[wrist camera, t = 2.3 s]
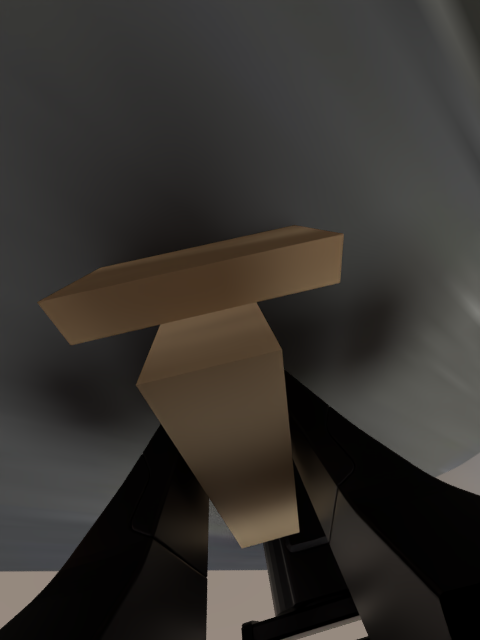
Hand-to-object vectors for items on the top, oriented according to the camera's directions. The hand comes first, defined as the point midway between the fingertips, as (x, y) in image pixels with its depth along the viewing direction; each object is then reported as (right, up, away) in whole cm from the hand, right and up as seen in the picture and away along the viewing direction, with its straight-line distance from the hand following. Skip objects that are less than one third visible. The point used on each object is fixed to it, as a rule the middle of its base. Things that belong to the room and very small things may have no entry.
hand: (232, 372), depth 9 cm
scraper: (0, 0, +1) cm, 1 cm away
